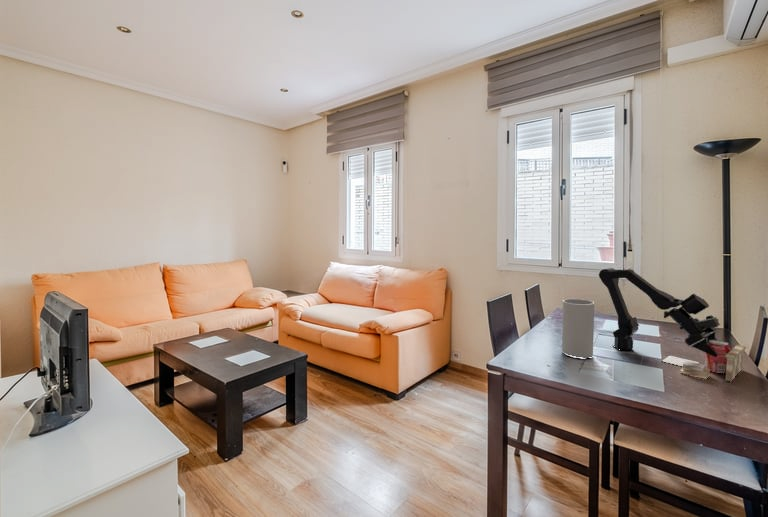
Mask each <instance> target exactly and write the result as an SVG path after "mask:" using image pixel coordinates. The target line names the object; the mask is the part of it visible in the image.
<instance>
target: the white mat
mask: <svg viewBox="0 0 768 517" xmlns="http://www.w3.org/2000/svg"><path fill="white" fill-rule="evenodd" d="M661 361H663V362H662V363H664V362H666V363H665V364H668V363H670V364H669V365H672V364H674V365H673V366H676V365H678V366H677V367H680V366H682V367H681V368H683V363H684V362H685V361H690V362H694V363H699V364H700V362H698V361H695V360H691V359H686V358H681V357H678V356H675V355H674V356H673V355H668V356H667V357H665V358H663V359H662V360H661Z"/></svg>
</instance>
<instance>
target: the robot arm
mask: <svg viewBox="0 0 768 517" xmlns="http://www.w3.org/2000/svg"><path fill="white" fill-rule="evenodd" d="M598 277H599V279H600V280H601V283H602V284H603V285H604V286H605V287H606V288H607V290H608V293H609V297H610V299H611V302H612V304H613V306H614V309H615V313H616V315H617V326H618V327H617V328H618V329H617V328H616V330H614V331H613V332H612V335H613V338H614V343H613V345H614V346H615V347H616V348H617V349H618V350H617V349H616V348H615V349H616V350H617V351H619V349H620V350H630V351H629V352H634V351H635V350H634V340H633V337H632V336H633V335H634V334H635V333H637V332H638V330H639V326H640V324H639V323H638V320H637V317H636V316H634V317H633V316H632V315H630V312H629V310H628V307H627V305H626V302H625V300H624V297H623V294H622V291H621V289H620V286H619V282H620V281H619V279H626V280H627V281H628V282H630V283H631V284H633V285H634V286H635V287H636V288H638V289H639V290H640V291H642V292H643V293H644V294H645V295H647V296H648V298H649V300H651V302H652V303H653V304H654V305H655V306H656V307H657V308H658V309H660V310H662V311H663V310H664V312H663V318H664V319H666V318H668V317H670V318H671V319H672V320H673V321H674V322H675V324H677V325H678V326H679V329H680V330H683V331H685V333H687V334H688V335H687V337H686V338H685V339H684V343H685V344H686V345H687V346H688V347H691V348H695V349H697V350H700V351H701V352H704V353H705V354H706V353H708V354H710V355H712V356H714V357H716V356H718V355H717V354H716V352H715V351H714V350H713V349H712V347H711V346H710V345H709V344H708V343H709V340H718V338H717V327H719V326H721V324H720V322H719V318H717V317H714V316H713V315H707V316H706V317H705V318H704V319H702V320H700V319H699V318H696V317H695V318H694V317H693V316H692V315H697V314H699V313H701V312H702V311H704V310H706V309H708V308H709V307H710V305H709V302H707V301H706V300H705V299H704V298H702V297H700V296H698V295H697V294H695V293H692V294H690V296H688V297H687V298H685V299H684V300H683V299H679V298H675V296H673V295H671V294H670V293H667V292H666V291H662V290H661V289H658V288H657V287H655V286H654V285H652V284H651V283H649V281H647V280H646V279H645V278H643V277H642V276H640V275H639V274H638V273H636V272H635V270H634V269H632V268H627V269H614V268H612V267H609V268H604V269H601V270H600V271H599V273H598ZM677 307H678V308H677Z"/></svg>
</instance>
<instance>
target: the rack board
mask: <svg viewBox="0 0 768 517" xmlns="http://www.w3.org/2000/svg"><path fill="white" fill-rule="evenodd" d="M746 348H747V347H746V345H741V344H736V345H735V346H734V347H732V349H730V352H728V353H727V354H726V355H725V358H727V365H726V373H725V381H726V380H728V381H732V380H733V379H734V378H735V376H736V375H737V374H738V373H739V372H740V371H741V370H742V371H743V365H744V351H745V350H746ZM742 371H741V372H742ZM741 372H740V373H741ZM740 373H739V374H740ZM739 374H738V375H739ZM735 379H736V378H735ZM735 379H734V380H735ZM734 380H733V381H734ZM733 381H732V382H733Z"/></svg>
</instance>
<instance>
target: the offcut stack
mask: <svg viewBox="0 0 768 517" xmlns="http://www.w3.org/2000/svg"><path fill="white" fill-rule="evenodd" d="M680 373H683V374H682V375H684V374H688V375H692V376H698V377H703V378H708V377H709V376H710V377H711V373H710V369H706V365H705V364H702V363H700V362H699V363H694V362H690V361H685V362H684V363H683V367H681V369H679V374H680ZM688 375H687V376H688ZM692 376H691V377H692ZM710 377H709V378H710ZM709 378H708V379H709Z"/></svg>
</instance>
